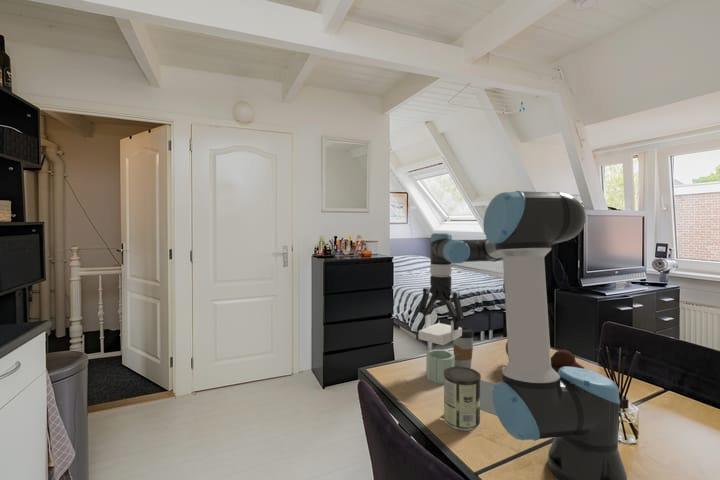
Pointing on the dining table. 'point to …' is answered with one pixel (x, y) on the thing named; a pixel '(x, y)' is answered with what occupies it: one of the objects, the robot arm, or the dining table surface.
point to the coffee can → (462, 398)
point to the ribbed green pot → (438, 364)
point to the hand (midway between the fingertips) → (440, 335)
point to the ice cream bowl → (563, 360)
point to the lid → (438, 334)
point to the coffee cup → (464, 348)
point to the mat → (486, 397)
